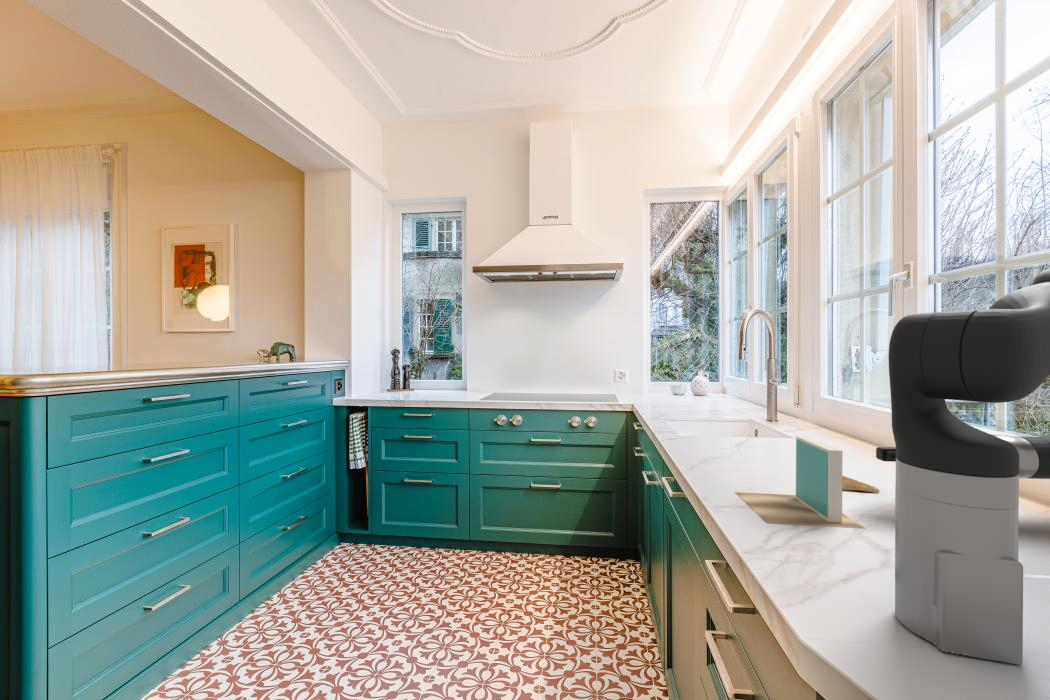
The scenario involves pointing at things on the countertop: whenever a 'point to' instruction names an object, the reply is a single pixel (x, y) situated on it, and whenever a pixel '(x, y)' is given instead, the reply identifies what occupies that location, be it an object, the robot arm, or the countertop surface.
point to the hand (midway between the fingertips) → (879, 454)
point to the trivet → (789, 511)
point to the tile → (819, 478)
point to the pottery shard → (857, 485)
